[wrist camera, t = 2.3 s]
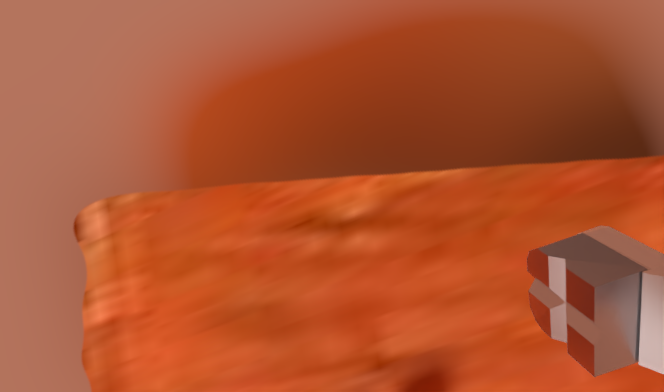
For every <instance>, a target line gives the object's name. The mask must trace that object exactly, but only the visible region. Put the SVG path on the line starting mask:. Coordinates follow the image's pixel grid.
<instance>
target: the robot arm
mask: <svg viewBox="0 0 664 392" xmlns="http://www.w3.org/2000/svg"><path fill="white" fill-rule="evenodd" d="M527 271H528V272H529V273H530V274H531V275H532V276H533V277H534V278H535V280H534V282H533V284H532V286H531V287H530V289H529V301H530V308H531V310H532V312H533V315H534V317H535V320H536V321H537V323H538V324H539V326H540V327H541V329H542V330H543V331H544V332H545V333H546V334H547V335H548V336H550V337H551V338H552V339H556V340H559V341H562V342H566V343H567V348H568V354H569V355H570V356H572V357H573V358H574V359H575V360H576V361H577V362H578V363H579V364H581V365H582V366H583V367H584V368H585V369H586V370H587V371H588V372H589V373H591V374H592V375H593V376H594V377H596V376H599V375H602V374H605V373H607V372H610V371H613V370H616V369H619V368H622V367H625V366H628V365H631V364H634V363H637V362H639V365H641V366H644V367H646V368H649V369H651V370H654V371H657V372H659V373H662V374H664V254H662V253H660V252H658V251H656V250H654V249H652V248H650V247H648V246H646V245H645V244H643V243H641V242H639V241H637V240H635V239H633V238H631V237H629V236H627V235H625V234H623V233H621V232H619V231H617V230H615V229H613V228H611V227H608V226H598V227H595V228H593V229H590V230H587V231H584V232H582V233H579V234H577V235H575V236H572V237H569V238H566V239H563V240H560V241H557V242H554V243H551V244H548V245H545V246H542V247H539V248H536V249H533V250H531V251H529V254H528V257H527Z"/></svg>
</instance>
